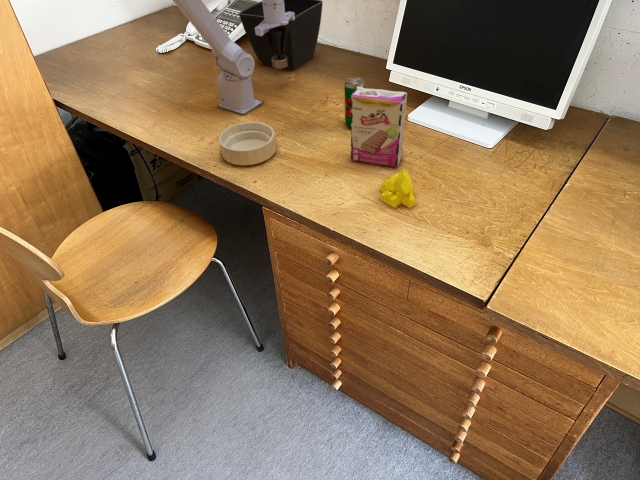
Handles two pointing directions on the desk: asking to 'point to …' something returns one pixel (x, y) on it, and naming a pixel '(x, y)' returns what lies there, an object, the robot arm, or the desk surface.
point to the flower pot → (299, 38)
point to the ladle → (279, 60)
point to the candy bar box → (377, 126)
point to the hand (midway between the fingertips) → (278, 53)
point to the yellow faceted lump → (398, 190)
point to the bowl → (247, 143)
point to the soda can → (349, 90)
